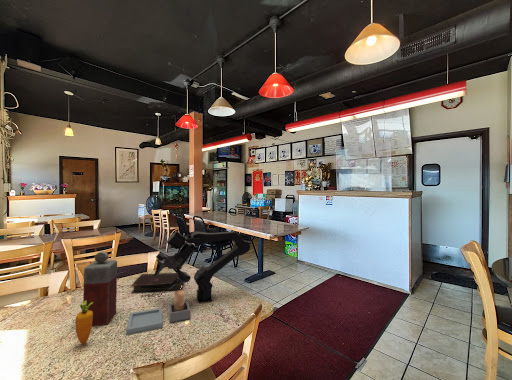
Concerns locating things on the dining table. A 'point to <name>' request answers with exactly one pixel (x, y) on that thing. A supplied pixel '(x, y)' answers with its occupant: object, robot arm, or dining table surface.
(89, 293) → the dark red canister
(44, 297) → the dining table surface
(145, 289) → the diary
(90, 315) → the carrot
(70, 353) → the dining table surface
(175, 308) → the dowel pin
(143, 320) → the slate tray
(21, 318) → the dining table surface
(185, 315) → the grey square bin
